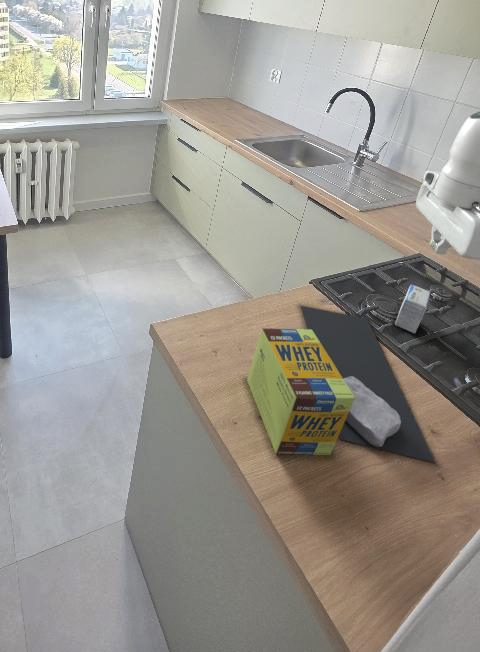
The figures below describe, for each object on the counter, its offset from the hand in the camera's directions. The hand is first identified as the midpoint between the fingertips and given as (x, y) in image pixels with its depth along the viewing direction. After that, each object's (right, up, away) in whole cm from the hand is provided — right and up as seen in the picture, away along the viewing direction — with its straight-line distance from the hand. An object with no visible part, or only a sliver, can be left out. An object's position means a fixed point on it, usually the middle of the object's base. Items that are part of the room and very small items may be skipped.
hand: (436, 250), depth 86 cm
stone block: (-18, -32, -3) cm, 37 cm away
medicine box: (+9, -23, +21) cm, 33 cm away
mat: (-13, -28, +7) cm, 32 cm away
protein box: (-33, -32, -4) cm, 46 cm away
